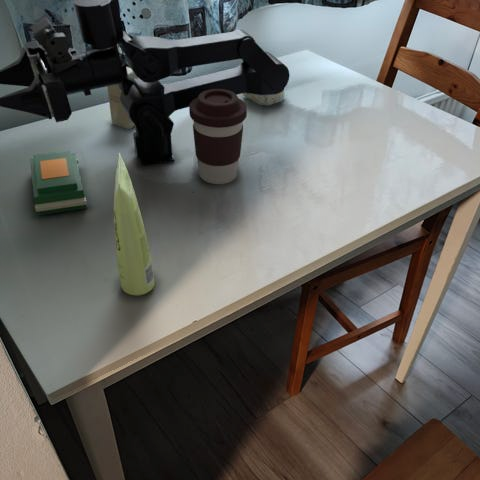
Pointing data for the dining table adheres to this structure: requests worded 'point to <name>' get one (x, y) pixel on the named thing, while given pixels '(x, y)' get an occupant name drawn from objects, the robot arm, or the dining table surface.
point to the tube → (130, 237)
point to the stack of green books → (57, 183)
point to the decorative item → (265, 98)
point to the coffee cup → (218, 134)
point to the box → (119, 104)
